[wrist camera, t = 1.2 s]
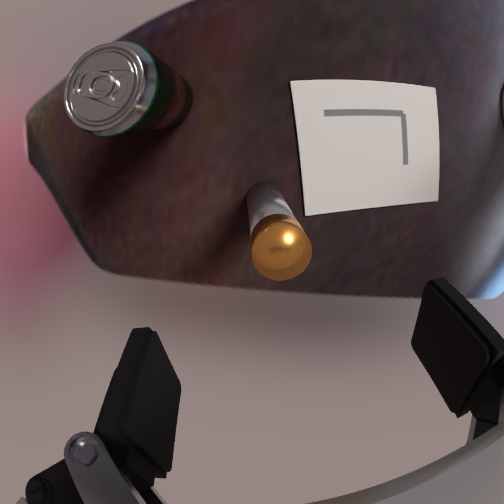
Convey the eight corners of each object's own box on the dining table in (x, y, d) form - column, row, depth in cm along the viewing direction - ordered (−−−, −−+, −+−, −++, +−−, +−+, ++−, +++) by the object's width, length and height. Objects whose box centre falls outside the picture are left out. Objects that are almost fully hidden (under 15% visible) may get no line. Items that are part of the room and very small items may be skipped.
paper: (434, 88, 20) (435, 87, 20) (436, 200, 25) (437, 200, 25) (289, 81, 20) (290, 81, 20) (304, 215, 25) (305, 215, 25)
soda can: (183, 136, 22) (133, 148, 11) (129, 123, 21) (47, 131, 10) (202, 80, 20) (168, 41, 9) (146, 69, 19) (75, 34, 8)
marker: (279, 179, 24) (310, 222, 14) (283, 213, 25) (313, 275, 15) (243, 184, 24) (248, 231, 14) (248, 218, 25) (256, 284, 15)
